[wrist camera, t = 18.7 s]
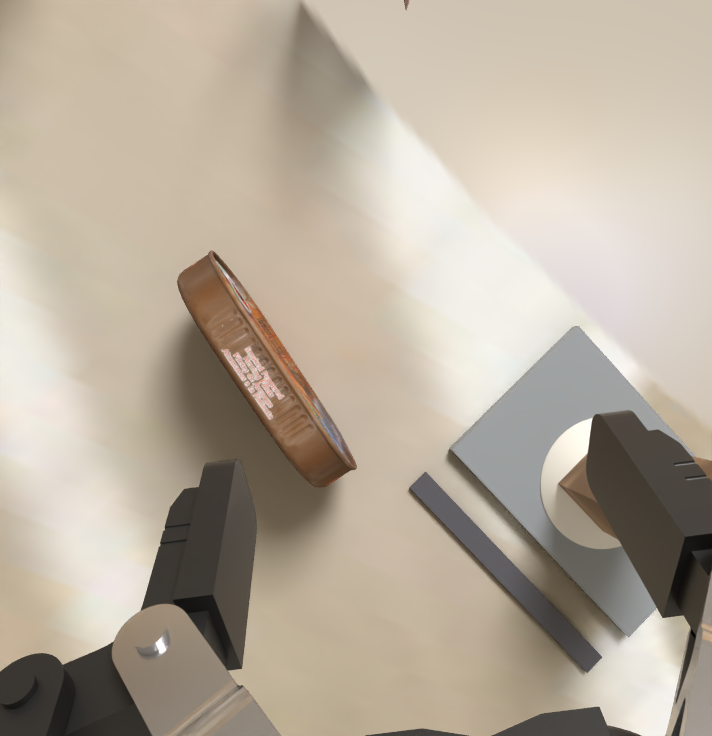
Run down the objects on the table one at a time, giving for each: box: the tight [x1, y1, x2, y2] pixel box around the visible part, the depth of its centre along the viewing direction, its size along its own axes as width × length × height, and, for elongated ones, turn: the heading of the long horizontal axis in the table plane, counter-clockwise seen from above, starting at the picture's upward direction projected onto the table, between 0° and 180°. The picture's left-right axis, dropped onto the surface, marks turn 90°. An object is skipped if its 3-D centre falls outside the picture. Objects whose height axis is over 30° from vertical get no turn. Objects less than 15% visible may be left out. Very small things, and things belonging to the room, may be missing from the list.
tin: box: [177, 251, 357, 488], centre depth 34 cm, size 15×3×8 cm, turn 33°
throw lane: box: [410, 326, 696, 673], centre depth 40 cm, size 16×18×1 cm
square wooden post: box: [558, 453, 712, 539], centre depth 34 cm, size 5×5×11 cm
